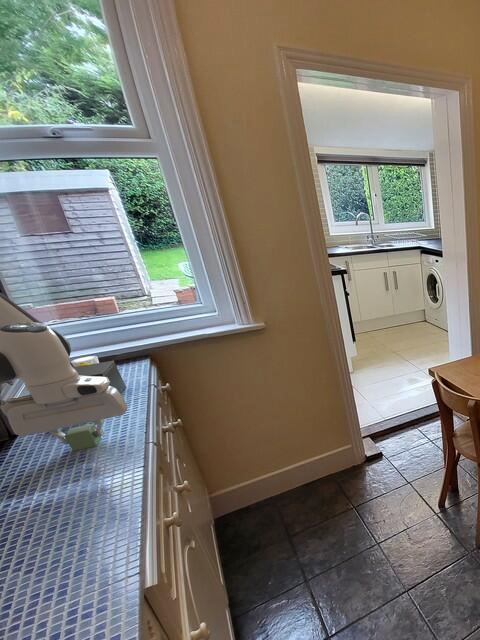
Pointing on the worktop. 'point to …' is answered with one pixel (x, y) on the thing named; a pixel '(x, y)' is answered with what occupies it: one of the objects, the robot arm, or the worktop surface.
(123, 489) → the worktop surface
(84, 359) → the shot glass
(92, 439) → the block
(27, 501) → the worktop surface
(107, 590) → the worktop surface
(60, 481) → the worktop surface
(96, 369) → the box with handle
